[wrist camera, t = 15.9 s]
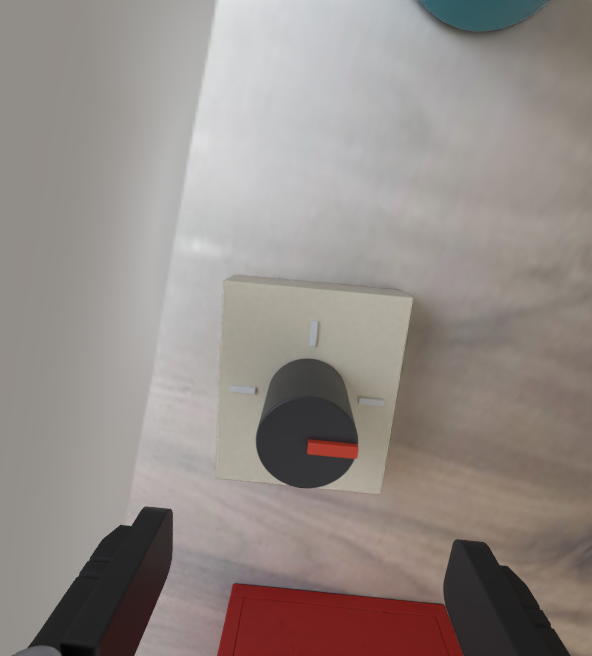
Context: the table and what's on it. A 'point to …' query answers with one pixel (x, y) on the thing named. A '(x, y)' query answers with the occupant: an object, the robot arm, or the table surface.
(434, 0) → the cup
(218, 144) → the table surface
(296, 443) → the valve knob
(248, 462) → the panel
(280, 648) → the red cabinet
